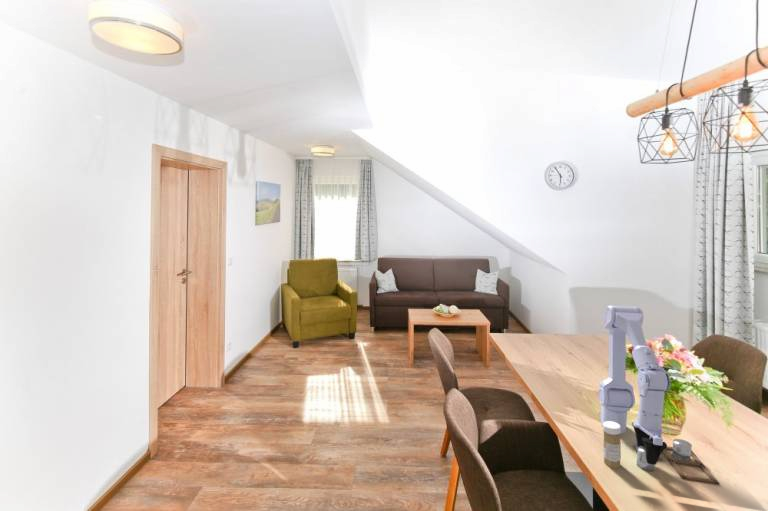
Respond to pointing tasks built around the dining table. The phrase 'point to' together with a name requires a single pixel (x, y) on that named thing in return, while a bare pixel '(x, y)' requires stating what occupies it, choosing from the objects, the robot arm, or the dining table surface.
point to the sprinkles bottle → (612, 444)
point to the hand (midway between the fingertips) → (646, 456)
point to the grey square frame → (637, 450)
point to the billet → (643, 460)
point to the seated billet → (681, 450)
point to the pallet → (698, 464)
